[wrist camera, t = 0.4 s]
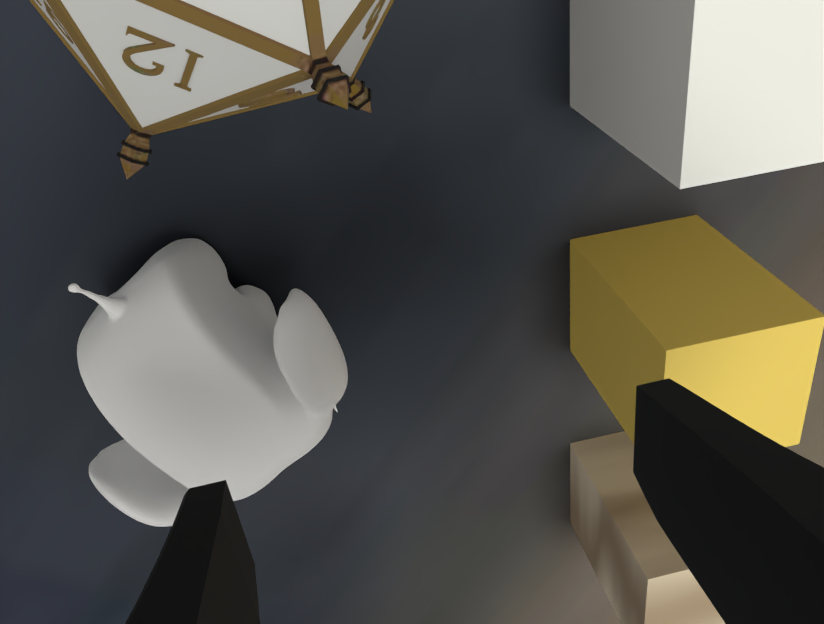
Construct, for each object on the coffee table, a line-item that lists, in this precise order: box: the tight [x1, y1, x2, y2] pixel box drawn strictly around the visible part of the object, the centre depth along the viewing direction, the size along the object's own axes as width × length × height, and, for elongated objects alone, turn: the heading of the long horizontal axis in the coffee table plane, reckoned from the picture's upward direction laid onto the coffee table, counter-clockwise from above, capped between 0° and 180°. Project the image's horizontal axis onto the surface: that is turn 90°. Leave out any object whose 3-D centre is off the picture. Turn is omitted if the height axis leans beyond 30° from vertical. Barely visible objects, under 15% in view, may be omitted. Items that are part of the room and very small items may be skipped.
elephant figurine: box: [68, 238, 348, 527], centre depth 19 cm, size 7×8×6 cm
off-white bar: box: [570, 0, 824, 189], centre depth 17 cm, size 4×4×6 cm
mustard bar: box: [570, 215, 824, 447], centre depth 22 cm, size 4×4×6 cm
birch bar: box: [570, 431, 725, 624], centre depth 26 cm, size 4×4×6 cm
